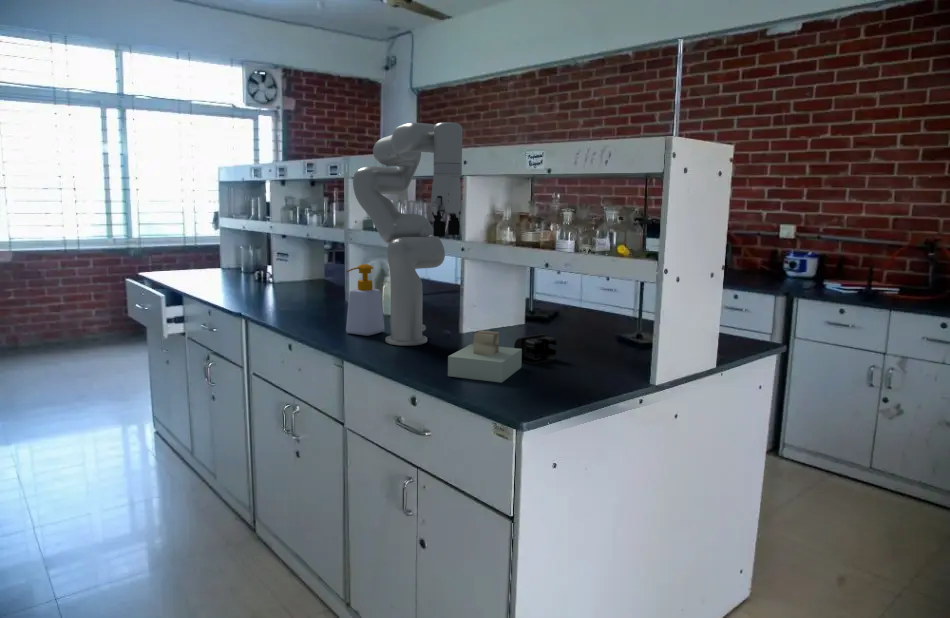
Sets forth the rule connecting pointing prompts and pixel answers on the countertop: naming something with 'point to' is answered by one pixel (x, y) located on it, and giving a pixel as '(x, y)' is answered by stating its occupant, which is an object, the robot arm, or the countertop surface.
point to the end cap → (536, 348)
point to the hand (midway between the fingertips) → (446, 235)
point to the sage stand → (485, 364)
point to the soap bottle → (364, 307)
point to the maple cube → (486, 342)
